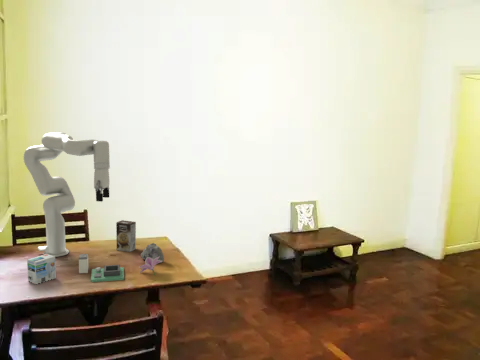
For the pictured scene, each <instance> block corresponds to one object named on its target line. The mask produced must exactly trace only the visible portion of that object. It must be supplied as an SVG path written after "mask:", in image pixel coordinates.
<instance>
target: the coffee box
mask: <svg viewBox="0 0 480 360" xmlns="http://www.w3.org/2000/svg"><path fill="white" fill-rule="evenodd" d="M115 225H116V227H115V229H116V235H115V238H116V251H122V252H127V253H131V252H133V251H134V250H136V248H137V247H136V245H137V244H136V242H137V240H136V238H137V237H136V236H137V235H136V232H137V230H136V229H137V228H136V227H137V226H136V225H137V224H136V221H130V220H124V219H121V220H119V221H116V222H115Z"/></svg>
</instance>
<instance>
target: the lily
mask: <svg viewBox="0 0 480 360" xmlns="http://www.w3.org/2000/svg"><path fill="white" fill-rule="evenodd" d="M159 257H160V256H159ZM159 257H157V258H155V259H154V260H153V259H152V258H150V257H147V258H146V260H145V262H144V264H142V265H139V267H138V268H139V269H140V272H139V273H140V274H141V273H143V272H144V271H146V270H150V271H152V272H153V274H154V276H156V273H155V270H154V269H155V266H156V265H158V264H161V263H160V262H162V260H158V258H159ZM162 263H163V262H162Z"/></svg>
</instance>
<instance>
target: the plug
mask: <svg viewBox="0 0 480 360" xmlns="http://www.w3.org/2000/svg"><path fill="white" fill-rule="evenodd" d="M88 273H89V254H88V253H79V255H78V274H88Z"/></svg>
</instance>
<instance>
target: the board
mask: <svg viewBox="0 0 480 360" xmlns="http://www.w3.org/2000/svg"><path fill="white" fill-rule="evenodd" d="M124 269H125V267H122V266H121V264H109V265H103V267H100V266H99V267H95V268H92V269H91V274H90V275H91V276H90V283H94V282H95V283H97V282H99V283H100V282H111V281H124V280H125V272H124Z"/></svg>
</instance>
